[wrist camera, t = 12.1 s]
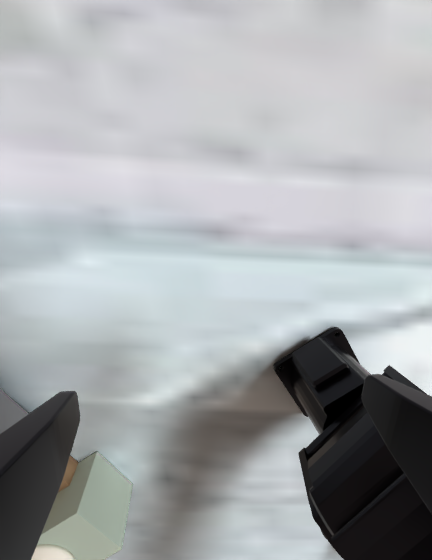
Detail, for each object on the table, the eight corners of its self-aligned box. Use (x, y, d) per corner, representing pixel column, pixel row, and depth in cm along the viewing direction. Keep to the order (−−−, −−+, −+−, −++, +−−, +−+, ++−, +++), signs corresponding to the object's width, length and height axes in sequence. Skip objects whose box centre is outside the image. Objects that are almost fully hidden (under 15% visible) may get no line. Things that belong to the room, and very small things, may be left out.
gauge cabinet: (132, 484, 26) (120, 558, 20) (45, 537, 26) (10, 623, 21) (97, 450, 24) (73, 522, 19) (5, 508, 25) (-44, 593, 19)
